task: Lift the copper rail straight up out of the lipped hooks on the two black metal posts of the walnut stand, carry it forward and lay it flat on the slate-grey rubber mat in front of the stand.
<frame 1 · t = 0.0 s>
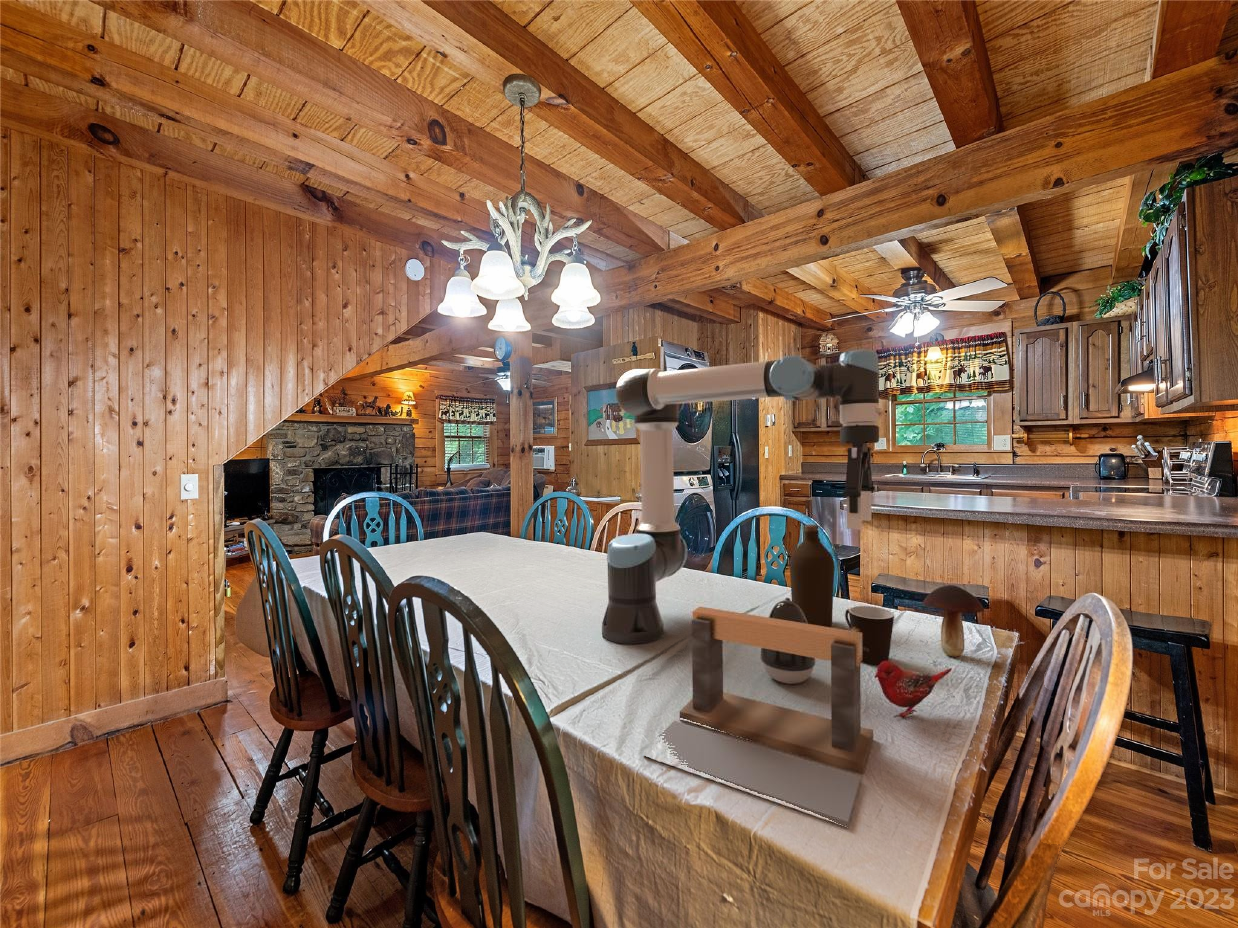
hand: (859, 524, 112), 28 cm above the table, tool pointing down, fingers open, 13 cm apart
copper rail: (771, 645, 84), point 13 cm above the table, touching rail stand
rail stand: (772, 729, 84), on the table
decorative mushroom: (953, 656, 111), on the table
decorative bird figurine: (914, 714, 88), on the table
coffee mug: (869, 657, 112), on the table
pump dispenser: (787, 678, 103), on the table
olive oil: (812, 624, 133), on the table
rubber mat: (747, 768, 74), on the table
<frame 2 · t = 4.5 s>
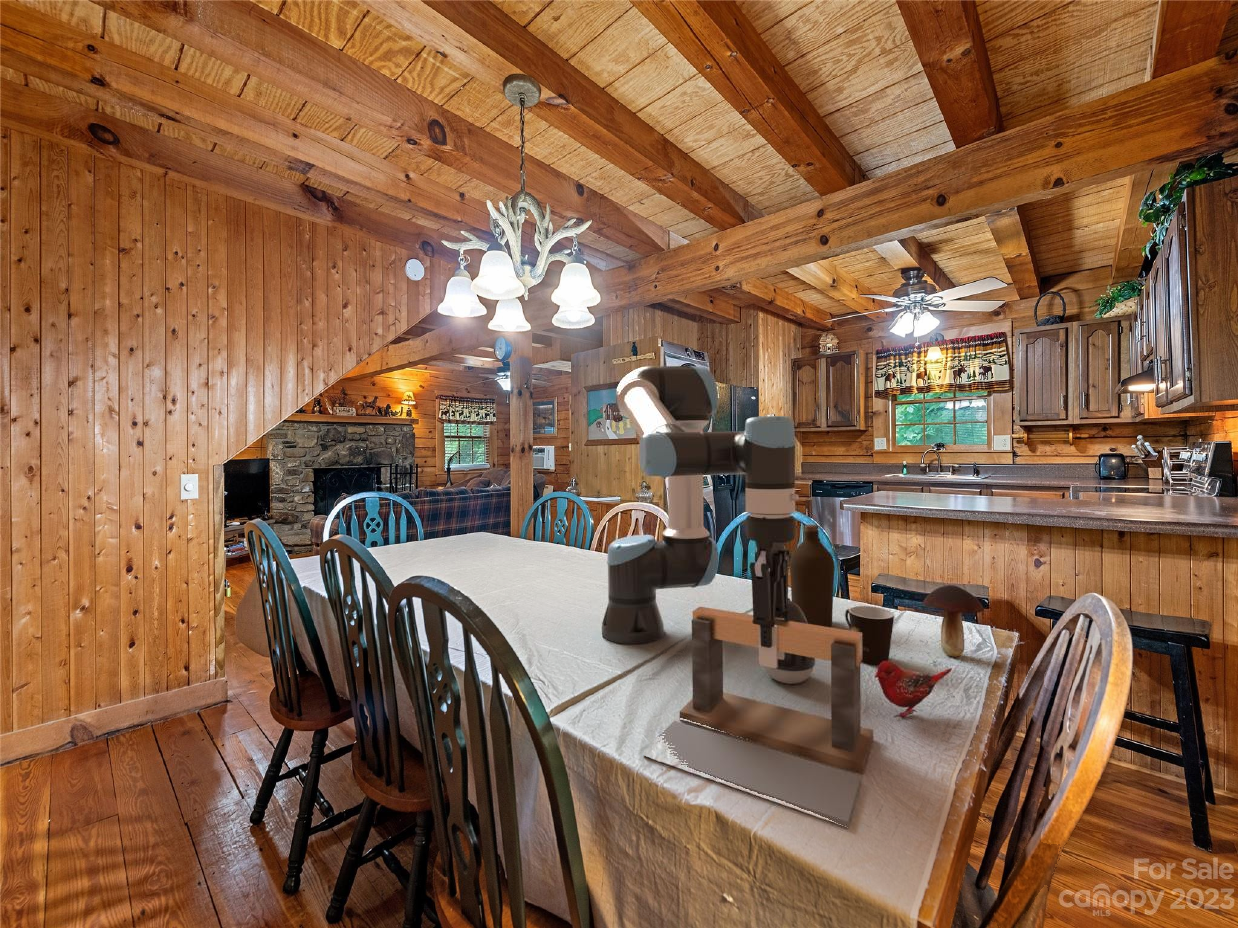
hand: (771, 661, 84), 11 cm above the table, tool pointing down, fingers closed on copper rail, 3 cm apart
copper rail: (771, 645, 84), point 13 cm above the table, touching gripper, rail stand
everything else where it was.
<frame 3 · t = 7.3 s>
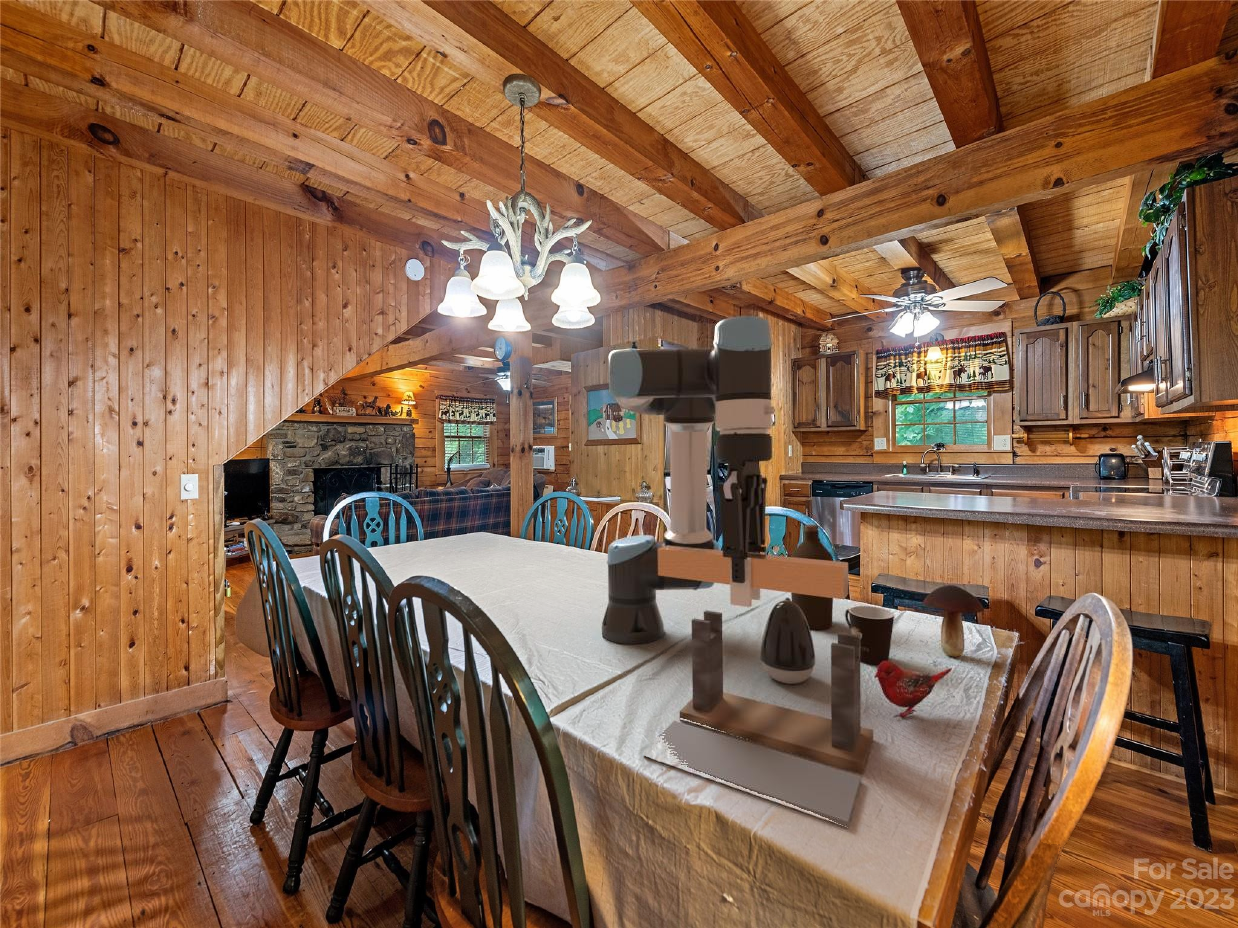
hand: (745, 601, 73), 24 cm above the table, tool pointing down, fingers closed on copper rail, 3 cm apart
copper rail: (745, 583, 73), point 26 cm above the table, touching gripper
everything else where it was.
when the fingers open (1 cm above the table, at t = 10.2 s): copper rail drops 3 cm, resting on rubber mat.
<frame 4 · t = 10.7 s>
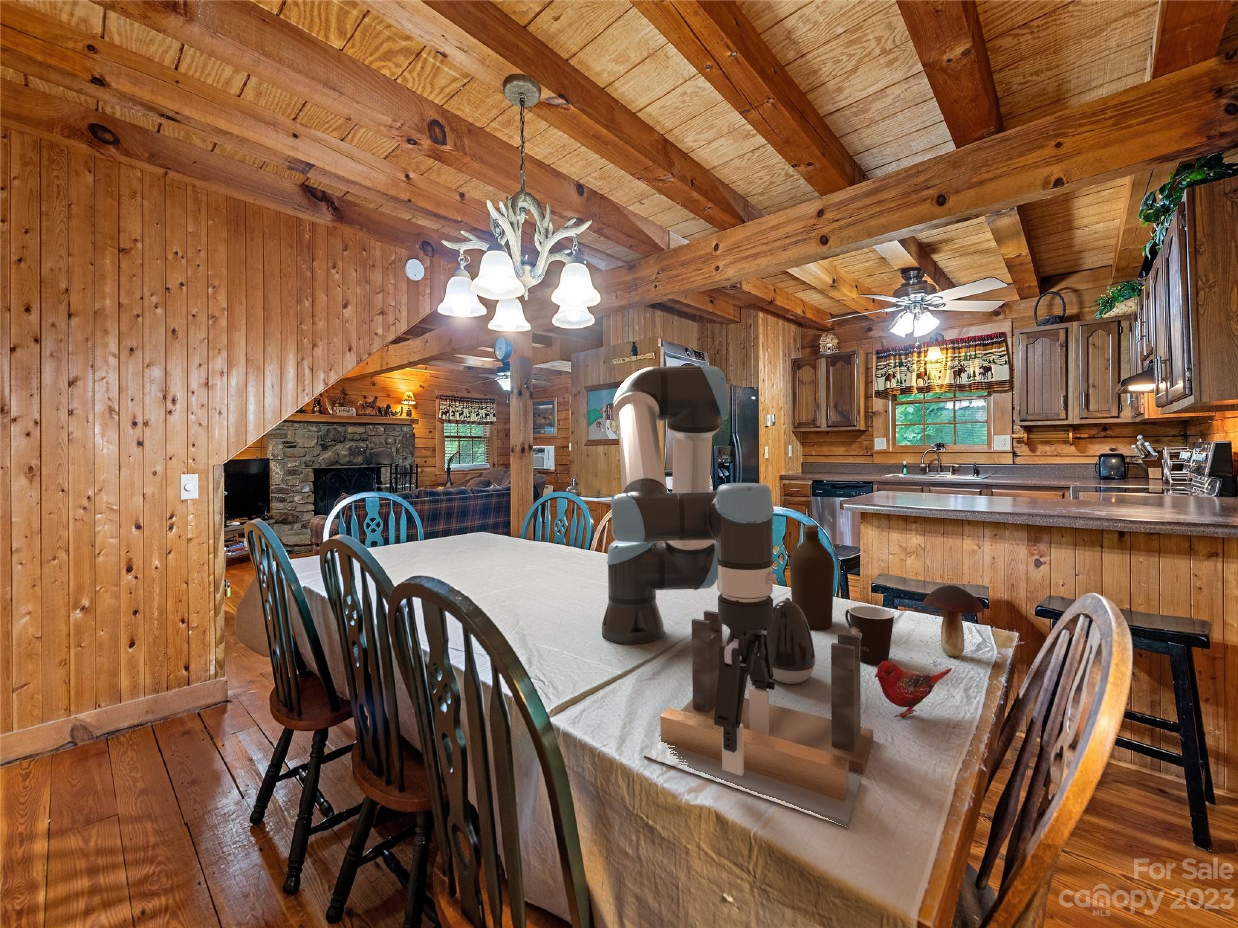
hand: (747, 750, 74), 3 cm above the table, tool pointing down, fingers open, 10 cm apart
copper rail: (747, 762, 74), point 1 cm above the table, touching rubber mat
everything else where it was.
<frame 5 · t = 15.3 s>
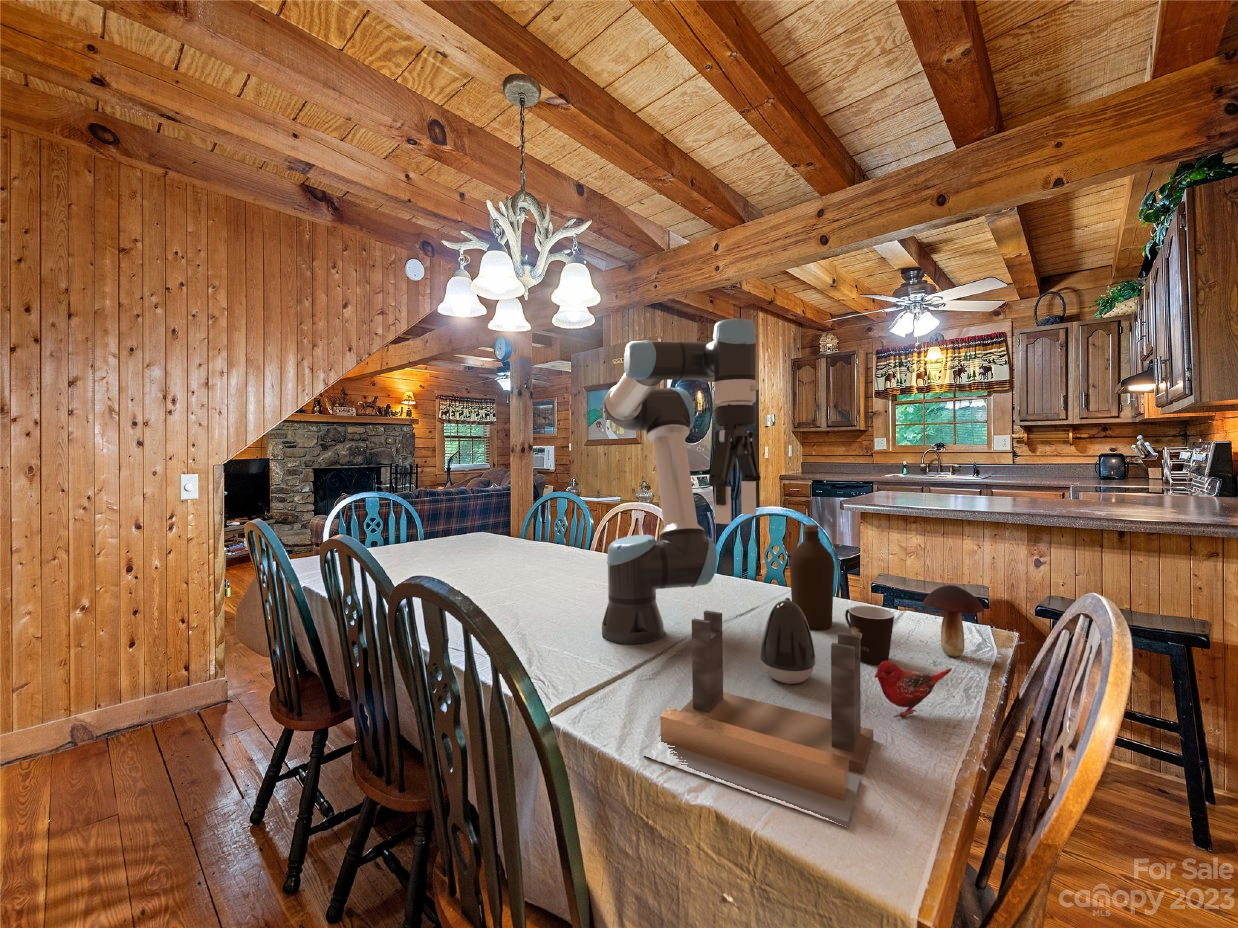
hand: (736, 518, 99), 32 cm above the table, tool pointing down, fingers open, 13 cm apart
nothing on the table moved.
at the end: copper rail inside the target area on the rubber mat (0.0 cm from its centre), point 0.8 cm above the rubber mat's base; copper rail tilted 0°; the gripper is holding nothing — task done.
